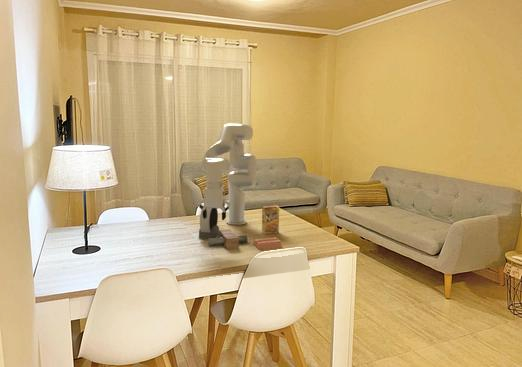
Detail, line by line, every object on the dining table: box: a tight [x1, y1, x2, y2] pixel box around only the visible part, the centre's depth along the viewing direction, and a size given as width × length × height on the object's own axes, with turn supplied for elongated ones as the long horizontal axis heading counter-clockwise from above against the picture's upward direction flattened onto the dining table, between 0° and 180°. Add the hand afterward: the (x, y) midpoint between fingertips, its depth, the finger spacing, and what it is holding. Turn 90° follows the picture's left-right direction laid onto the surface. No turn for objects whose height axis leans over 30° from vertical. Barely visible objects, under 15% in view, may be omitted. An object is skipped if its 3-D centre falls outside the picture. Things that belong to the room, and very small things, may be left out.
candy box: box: [261, 204, 280, 235], centre depth 225 cm, size 9×4×15 cm, turn 107°
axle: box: [207, 234, 249, 247], centre depth 205 cm, size 20×4×4 cm, turn 111°
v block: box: [252, 236, 282, 251], centre depth 203 cm, size 9×12×3 cm
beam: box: [218, 228, 240, 250], centre depth 205 cm, size 16×6×6 cm, turn 21°
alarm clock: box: [198, 205, 220, 240], centre depth 217 cm, size 16×10×18 cm, turn 168°
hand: (214, 218), depth 200 cm, fingers open, 9 cm apart
